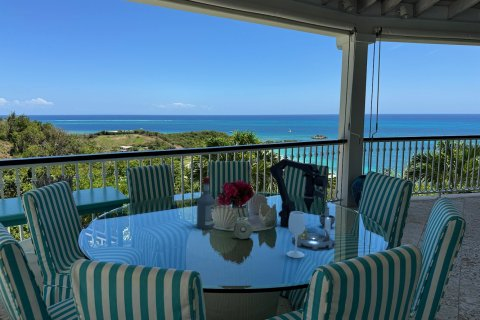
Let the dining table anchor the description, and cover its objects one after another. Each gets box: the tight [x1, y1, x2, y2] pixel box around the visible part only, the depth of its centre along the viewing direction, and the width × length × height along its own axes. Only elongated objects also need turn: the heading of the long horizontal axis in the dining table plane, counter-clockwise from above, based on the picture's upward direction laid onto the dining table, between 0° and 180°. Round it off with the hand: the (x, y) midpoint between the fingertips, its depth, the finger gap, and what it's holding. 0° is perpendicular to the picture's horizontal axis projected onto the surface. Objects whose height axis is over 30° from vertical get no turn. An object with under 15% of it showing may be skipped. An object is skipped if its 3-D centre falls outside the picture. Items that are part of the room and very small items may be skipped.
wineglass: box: [286, 210, 306, 259], centre depth 183 cm, size 9×9×21 cm
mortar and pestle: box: [318, 206, 336, 230], centre depth 235 cm, size 11×9×12 cm
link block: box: [298, 228, 308, 238], centre depth 205 cm, size 5×4×4 cm
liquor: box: [196, 176, 216, 230], centre depth 225 cm, size 9×9×30 cm
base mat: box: [291, 240, 336, 252], centre depth 203 cm, size 22×22×1 cm
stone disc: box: [233, 219, 254, 240], centre depth 207 cm, size 10×4×10 cm, turn 86°
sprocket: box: [291, 217, 336, 250], centre depth 202 cm, size 23×23×14 cm
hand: (308, 211), depth 223 cm, fingers closed
